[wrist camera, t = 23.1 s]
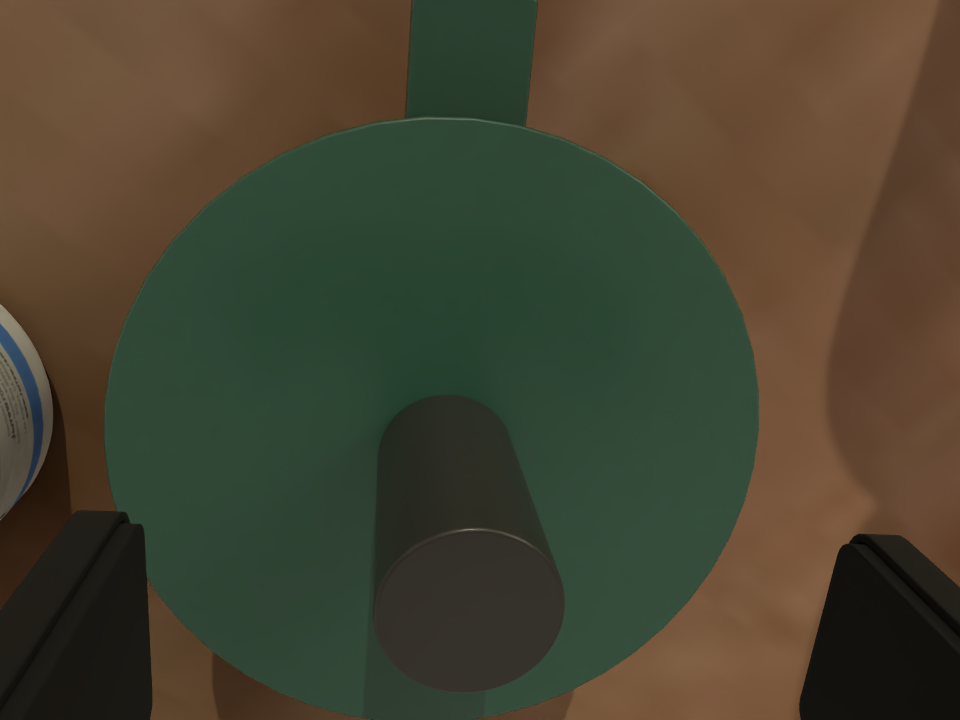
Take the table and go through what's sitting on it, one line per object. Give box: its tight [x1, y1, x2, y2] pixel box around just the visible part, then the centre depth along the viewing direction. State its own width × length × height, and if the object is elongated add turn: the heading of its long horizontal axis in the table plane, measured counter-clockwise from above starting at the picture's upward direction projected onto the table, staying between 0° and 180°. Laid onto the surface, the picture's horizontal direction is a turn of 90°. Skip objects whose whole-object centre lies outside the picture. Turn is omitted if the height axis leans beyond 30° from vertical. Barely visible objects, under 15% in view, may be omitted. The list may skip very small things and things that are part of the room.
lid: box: [104, 116, 759, 720], centre depth 15 cm, size 14×14×7 cm
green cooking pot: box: [371, 0, 538, 720], centre depth 22 cm, size 13×18×10 cm
